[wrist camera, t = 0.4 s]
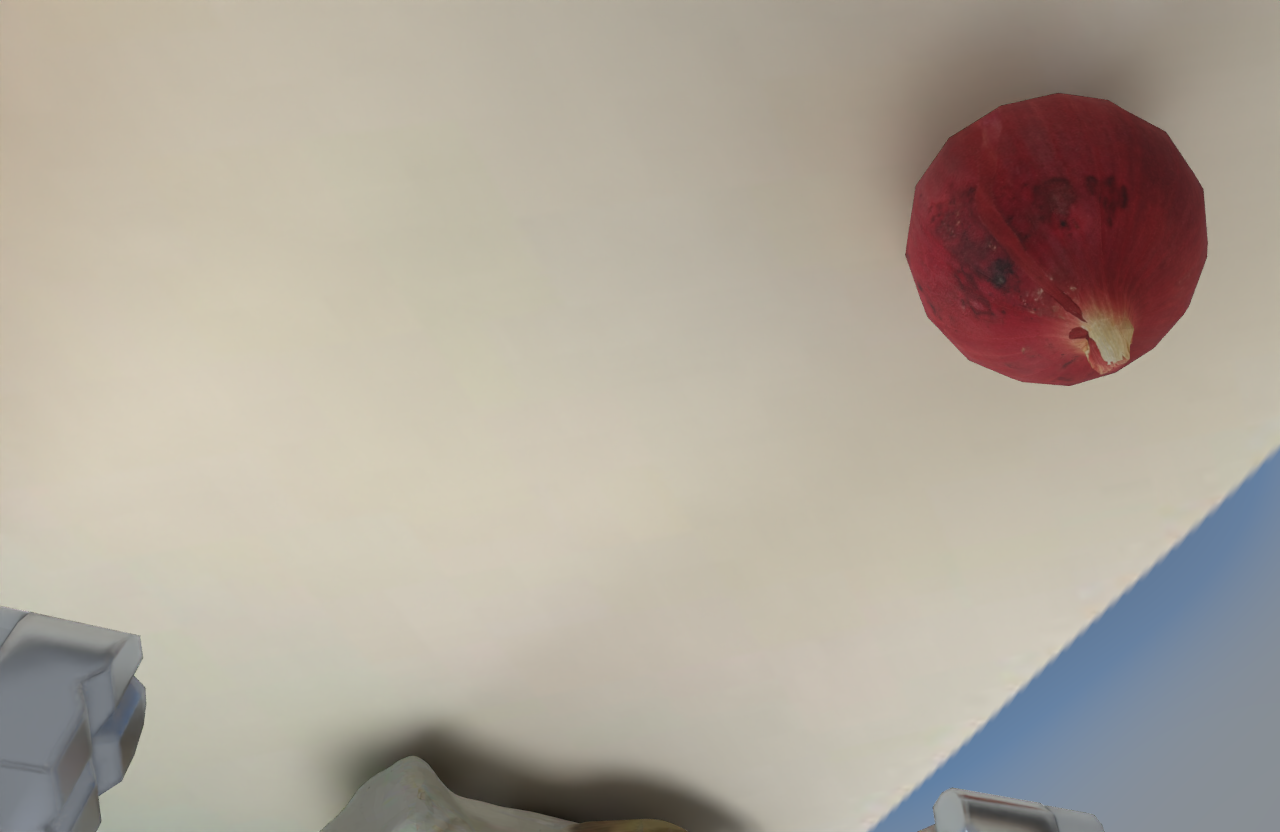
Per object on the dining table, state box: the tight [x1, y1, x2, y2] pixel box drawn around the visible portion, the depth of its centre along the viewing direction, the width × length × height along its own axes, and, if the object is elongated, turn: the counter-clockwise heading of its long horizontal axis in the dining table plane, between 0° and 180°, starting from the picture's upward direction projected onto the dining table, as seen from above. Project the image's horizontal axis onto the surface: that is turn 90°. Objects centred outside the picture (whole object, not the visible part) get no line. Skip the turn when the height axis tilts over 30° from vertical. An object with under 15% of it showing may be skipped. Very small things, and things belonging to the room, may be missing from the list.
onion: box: [905, 93, 1208, 386], centre depth 24 cm, size 6×6×8 cm
